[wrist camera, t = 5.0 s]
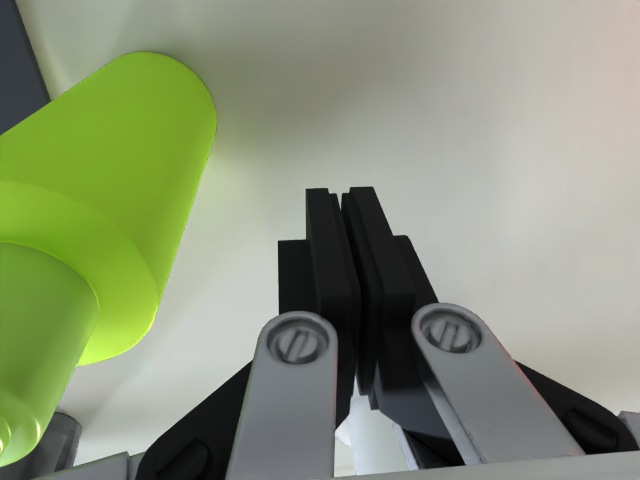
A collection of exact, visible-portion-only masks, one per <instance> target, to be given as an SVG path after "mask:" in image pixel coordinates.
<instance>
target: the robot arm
mask: <svg viewBox="0 0 640 480" xmlns="http://www.w3.org/2000/svg"><path fill="white" fill-rule="evenodd" d="M278 282H279V315H278V316H276V317H275V318H273V319H271V320H270V321H269V322H268V323H267V324H266V325H265V326H264V327H263V328H262V330H261V332H260V335H259V337H258V341H257V345H256V350H255V354H254V358H253V360H252V361H251V362H249V363H248V364H247V365H246V366H244V367H243V368H242V369H241V370H240V371H238V372H237V373H236V374H235V375H234V376H232V377H231V378H230V379H229V380H228V381H226V382H225V383H224V384H223V385H222V386H220V387H219V388H218V389H217V390H216V391H214V392H213V393H212V394H211V395H210V396H208V397H207V398H206V399H205V400H204V401H202V402H201V403H200V404H199V405H198V406H196V407H195V408H194V409H193V410H192V411H190V412H189V413H188V414H187V415H186V416H184V417H183V418H182V419H181V420H179V421H178V422H177V423H176V424H175V425H173V426H172V427H171V428H170V429H169V430H167V431H166V432H165V433H164V434H163V435H161V436H160V437H159V438H158V439H157V440H156V441H155V442H154V443H153V444H152V445H151V446H150V447H149V448H148V449H147V451H146V452H142V453H139V454H136V455H132V456H129V454H128V452H127V451H125V452H122V453H118V454H115V455H112V456H108V457H105V458H102V459H98V460H95V461H92V462H88V463H85V464H81V465H78V466H75V467H71V468H68V469H65V470H61V471H58V472H54V473H51V474H48V475H44V476H41V477H38V478H34V479H31V480H640V413H634V412H627V411H621V412H620V414H619V415H618V416H615V415H614V414H613V413H612V412H611V411H609V410H607V409H606V408H604V407H603V406H601V405H600V404H598V403H596V402H594V401H592V400H590V399H588V398H587V397H585V396H583V395H581V394H579V393H577V392H575V391H573V390H571V389H569V388H567V387H565V386H563V385H561V384H559V383H558V382H556V381H554V380H552V379H550V378H548V377H546V376H544V375H542V374H540V373H538V372H536V371H534V370H532V369H531V368H529V367H527V366H525V365H523V364H521V363H519V362H517V361H515V360H513V359H512V357H511V356H510V355H509V353H508V352H507V351H506V350H505V348H504V347H503V346H502V344H501V343H500V342H499V340H498V339H497V338H496V337H495V335H494V334H493V333H492V331H491V330H490V329H489V327H488V326H487V325H486V324H485V322H484V321H483V320H482V319H481V318H480V317H479V316H478V315H476V314H475V313H473V312H471V311H470V310H468V309H466V308H463V307H461V306H458V305H455V304H449V303H439V301H438V299H437V297H436V295H435V293H434V290H433V288H432V286H431V284H430V282H429V280H428V278H427V275H426V273H425V271H424V269H423V267H422V265H421V263H420V260H419V258H418V256H417V254H416V252H415V250H414V247H413V245H412V243H411V241H410V239H409V238H408V236H406V235H397V236H393V234H392V231H391V229H390V227H389V224H388V222H387V219H386V217H385V215H384V212H383V210H382V207H381V205H380V202H379V200H378V198H377V195H376V193H375V190H374V188H373V187H351V188H350V191H349V193H342V200H341V210H340V206H339V202H338V198H337V194H336V193H333V194H329V191H328V188H313V189H306V239H305V240H282V241H278ZM335 436H336V437H337V438H338V439H339V440H340V441H342V442H343V443H344V444H346V445H348V446H350V447H351V449H352V455H353V462H354V468H355V476H345V477H334V452H335Z"/></svg>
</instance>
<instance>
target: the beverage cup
mask: <svg viewBox="0 0 640 480" xmlns="http://www.w3.org/2000/svg"><path fill="white" fill-rule="evenodd" d="M81 433H82V428H81V426H80V424H79V423H78V422H77V421H75V420H74V419H73V418H71V417H68V416H66V415H63V414H59V413H53V416H52V418H51V420H50V422H49V424H48V426H47V428H46V430H45V432H44V434H43V436H42V438H41V439H40V441H39V442H38V444H37V445H36V447H35V448H34V449H33V450H32V451H31V452H30V453H29V454H27V455H26V456H24V457H23V458H21V459H19V460H18V461H16V462H13V463H11V464H9V465H6V466H2V467H0V480H31V479H34V478H38V477H41V476H44V475H48V474H51V473H54V472H58V471H61V470H65V469H68V468H71V467H73V463H74V460H75V457H76V453H77V447H78V443H79V438H80V436H81Z"/></svg>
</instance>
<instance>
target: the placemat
mask: <svg viewBox="0 0 640 480" xmlns="http://www.w3.org/2000/svg"><path fill="white" fill-rule="evenodd" d="M50 102H51V101H50V98H49V95H48V92H47V89H46V87H45V84H44V81H43V78H42V75H41V73H40V70H39V67H38V64H37V61H36V59H35V56H34V53H33V50H32V47H31V45H30V42H29V39H28V36H27V33H26V31H25V28H24V25H23V22H22V19H21V17H20V14H19V11H18V8H17V5H16V3H15V0H0V136H1V135H2V134H4V133H5V132H7V131H8V130H10V129H11V128H13V127H14V126H16V125H17V124H19V123H20V122H22V121H23V120H25V119H26V118H28V117H29V116H31V115H32V114H34V113H35V112H36V111H38V110H39V109H41V108H42V107H44V106H45V105H47V104H48V103H50Z"/></svg>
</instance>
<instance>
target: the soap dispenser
mask: <svg viewBox="0 0 640 480" xmlns="http://www.w3.org/2000/svg"><path fill="white" fill-rule="evenodd" d="M216 128H217V116H216V109H215V105H214V102H213V100H212V97H211V95H210V93H209V91H208V89H207V88H206V86H205V85H204V83H203V82H202V81H201V80H200V78H199V77H198V76H197V75H196V74H195V73H194V72H193V71H192V70H190V69H189V68H188V67H186V66H185V65H184V64H182V63H180V62H179V61H177V60H175V59H173V58H171V57H168V56H165V55H162V54H158V53H153V52H134V53H129V54H125V55H122V56H120V57H118V58H116V59H114V60H113V61H111V62H110V63H108V64H107V65H105V66H104V67H102V68H101V69H99V70H98V71H96V72H95V73H93V74H92V75H90V76H89V77H87V78H86V79H84V80H83V81H81V82H80V83H78V84H77V85H75V86H74V87H72V88H71V89H69V90H68V91H66V92H65V93H63V94H62V95H60V96H59V97H57V98H56V99H54V100H53V101H51V102H50V103H48V104H47V105H45V106H44V107H42V108H41V109H39V110H38V111H36V112H35V113H34V114H32V115H31V116H29V117H28V118H26V119H25V120H23V121H22V122H20V123H19V124H17V125H16V126H14V127H13V128H11V129H10V130H8V131H7V132H5V133H4V134H2V135H1V136H0V467H2V466H6V465H9V464H11V463H13V462H16V461H18V460H19V459H21V458H23V457H24V456H26V455H27V454H29V453H30V452H31V451H32V450H33V449H34V448H35V447H36V445H37V444H38V442H39V441H40V439H41V438H42V436H43V434H44V432H45V430H46V428H47V426H48V424H49V422H50V420H51V418H52V416H53V413H54V411H55V409H56V407H57V405H58V403H59V401H60V399H61V397H62V395H63V393H64V391H65V389H66V386H67V384H68V382H69V380H70V378H71V376H72V374H73V372H74V370H75V368H76V366H80V365H87V364H92V363H97V362H101V361H104V360H107V359H110V358H112V357H115V356H117V355H119V354H121V353H123V352H125V351H127V350H128V349H130V348H131V347H133V346H134V345H135V344H136V343H138V342H139V341H140V340H141V339H142V338H143V337H144V335H145V334H146V333H147V332H148V330H149V329H150V327H151V325H152V323H153V321H154V319H155V316H156V313H157V310H158V307H159V304H160V301H161V298H162V295H163V292H164V289H165V286H166V283H167V280H168V277H169V274H170V271H171V268H172V265H173V262H174V259H175V256H176V253H177V249H178V246H179V243H180V240H181V237H182V234H183V231H184V228H185V225H186V222H187V219H188V216H189V213H190V210H191V207H192V204H193V201H194V198H195V195H196V192H197V189H198V186H199V183H200V180H201V177H202V174H203V171H204V168H205V165H206V162H207V158H208V155H209V152H210V149H211V146H212V143H213V140H214V137H215V134H216Z"/></svg>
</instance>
